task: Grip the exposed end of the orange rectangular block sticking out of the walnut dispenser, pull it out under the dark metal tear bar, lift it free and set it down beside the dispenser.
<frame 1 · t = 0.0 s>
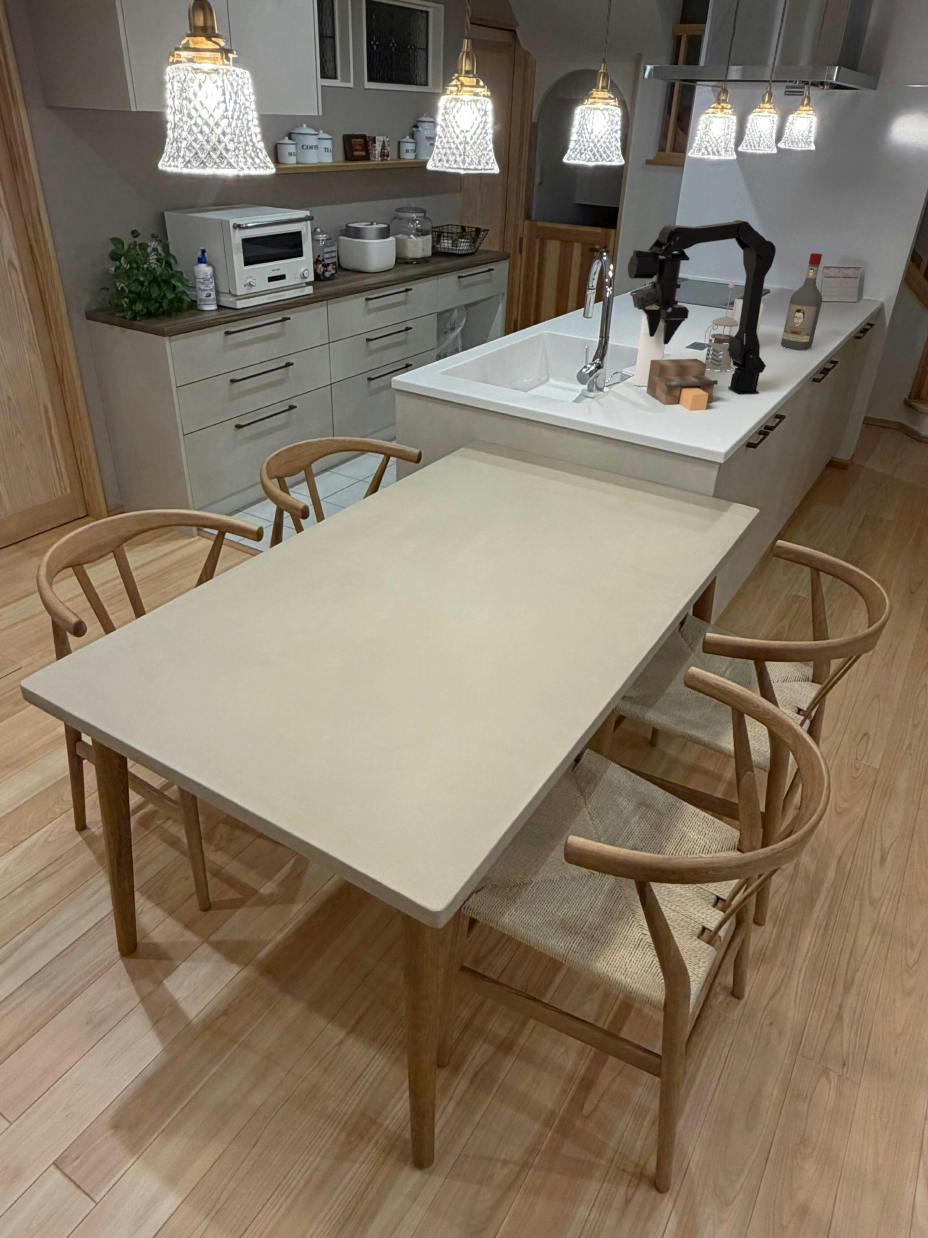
hand: (658, 340, 227), 15 cm above the table, fingers open, 9 cm apart
dispenser: (678, 397, 233), on the table
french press: (714, 367, 264), on the table
supplement box: (740, 347, 291), on the table
milk carton: (646, 384, 245), on the table
orange rectangular block: (689, 405, 227), on the table
liquor: (795, 347, 293), on the table
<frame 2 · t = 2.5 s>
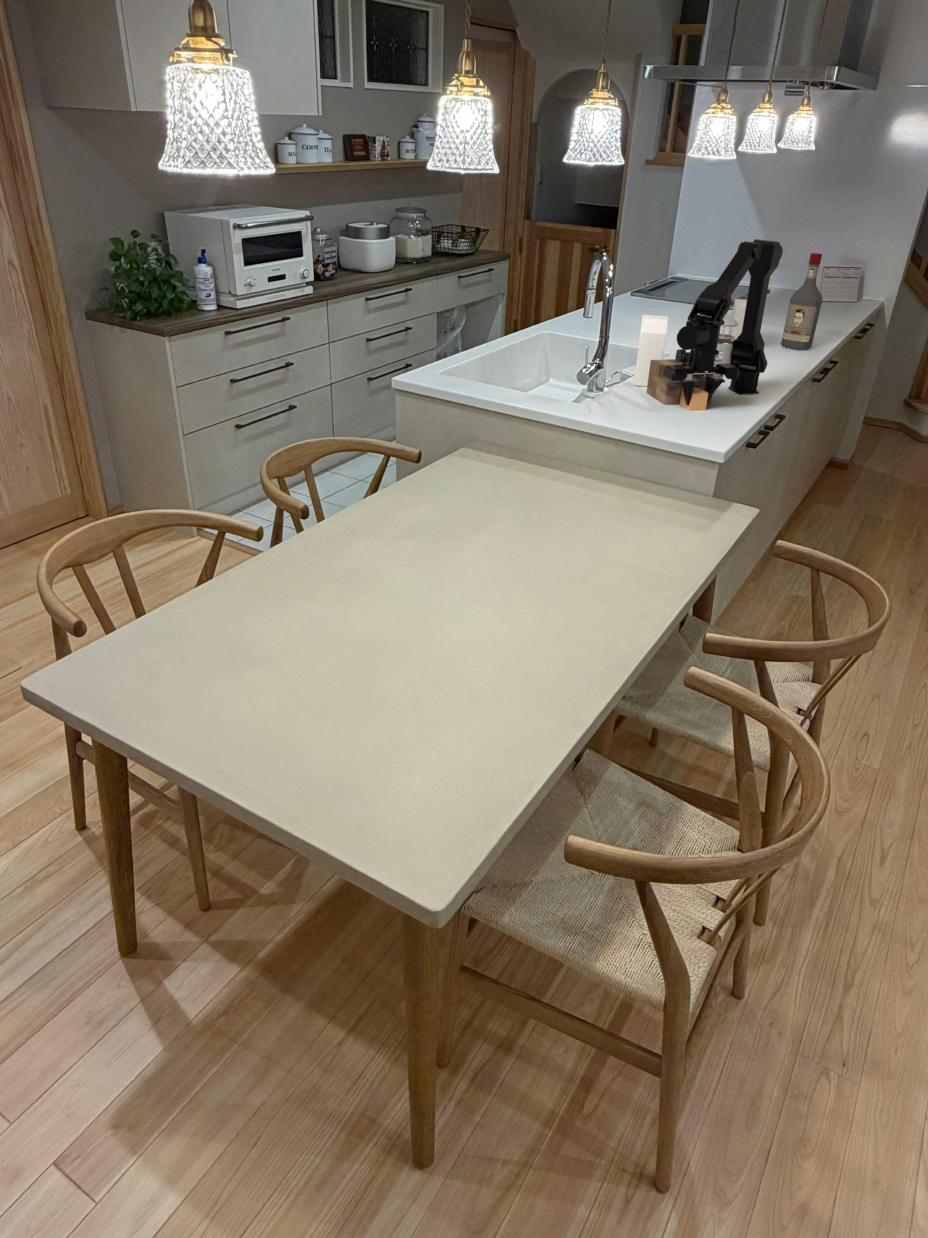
hand: (695, 404, 223), 1 cm above the table, fingers closed on orange rectangular block, 4 cm apart
orange rectangular block: (689, 404, 227), on the table, touching gripper
everything else where it was.
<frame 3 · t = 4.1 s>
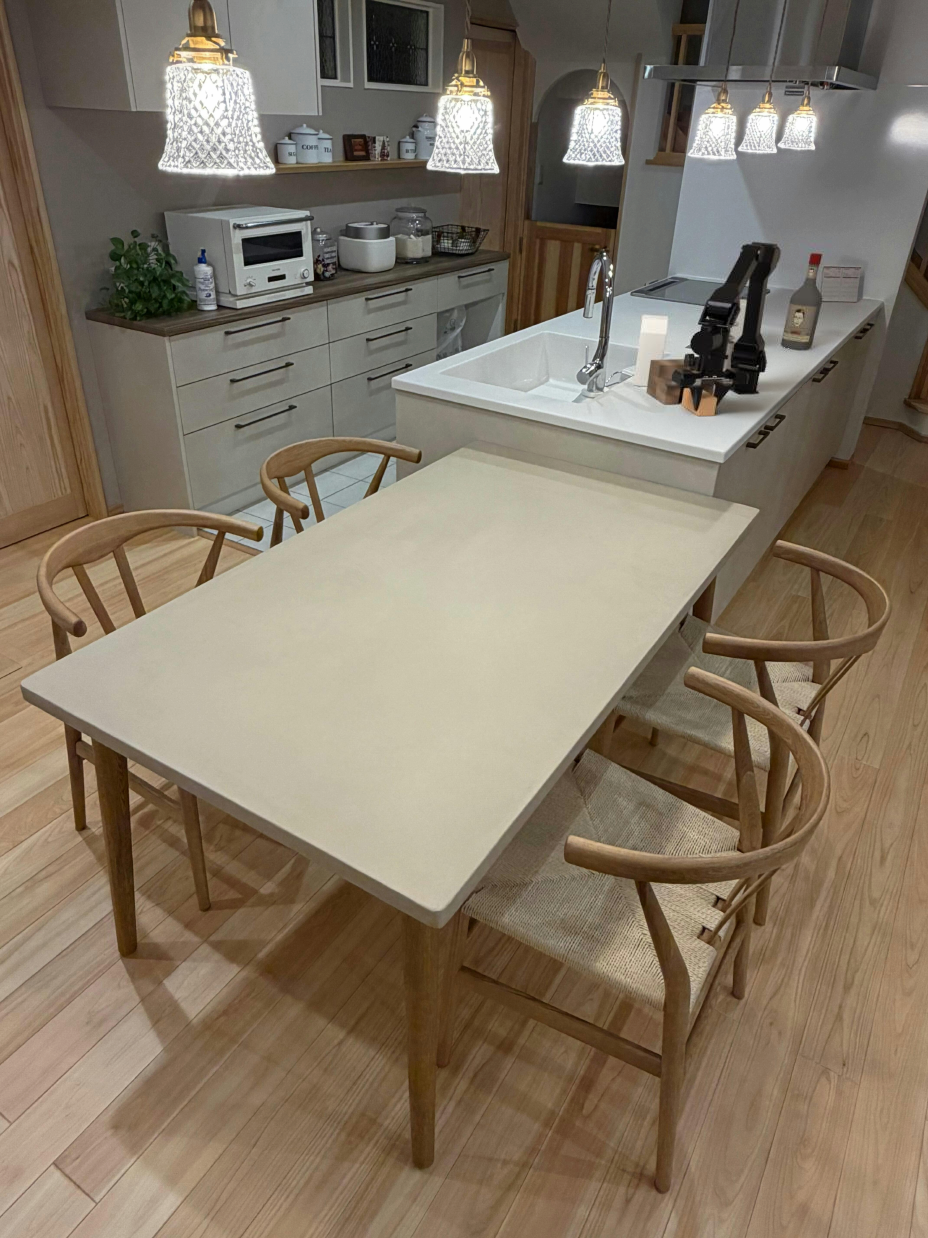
hand: (704, 410, 219), 1 cm above the table, fingers closed on orange rectangular block, 4 cm apart
orange rectangular block: (697, 410, 222), on the table, touching gripper
everything else where it was.
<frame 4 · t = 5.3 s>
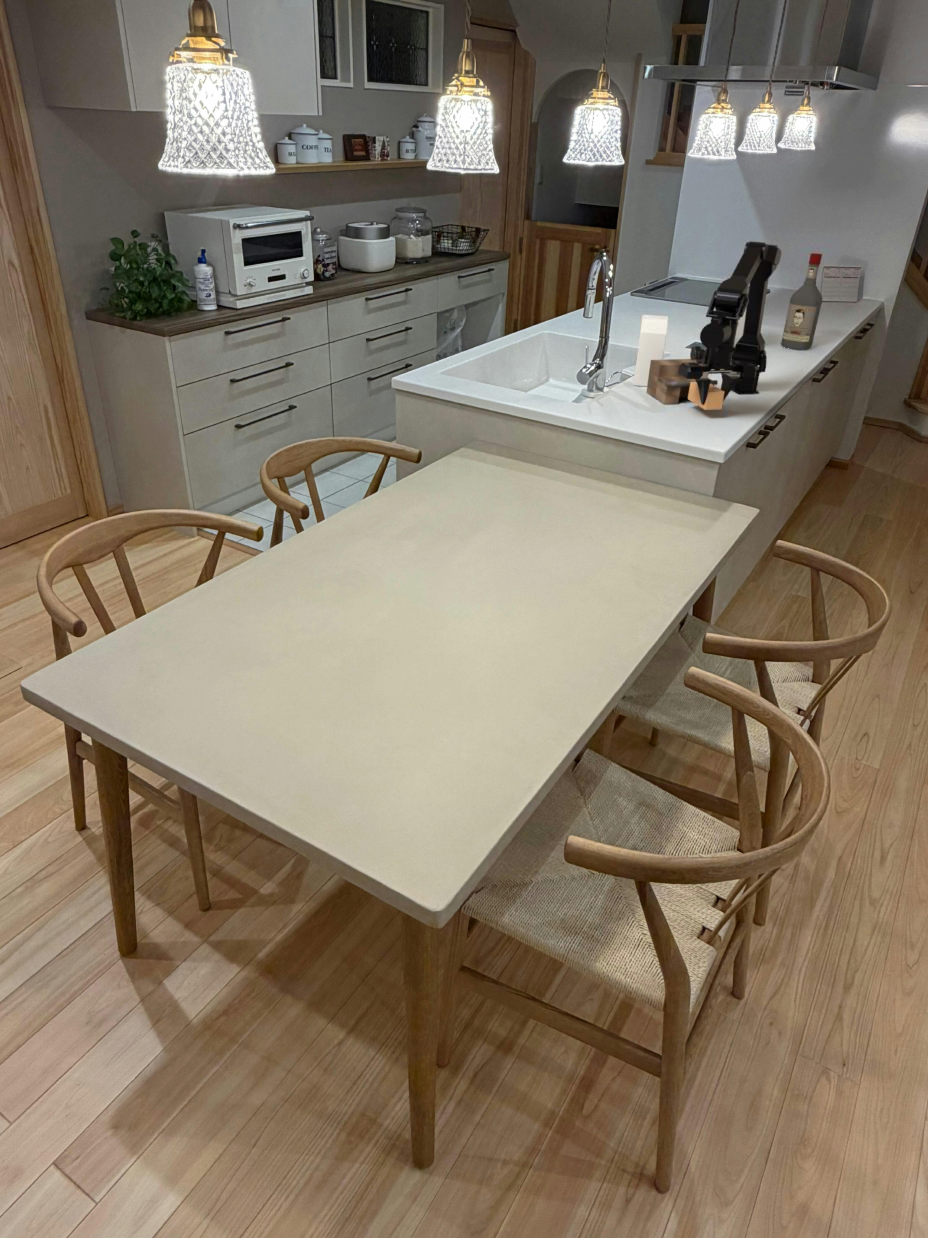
hand: (711, 403, 215), 4 cm above the table, fingers closed on orange rectangular block, 4 cm apart
orange rectangular block: (704, 403, 219), point 3 cm above the table, touching gripper
everything else where it was.
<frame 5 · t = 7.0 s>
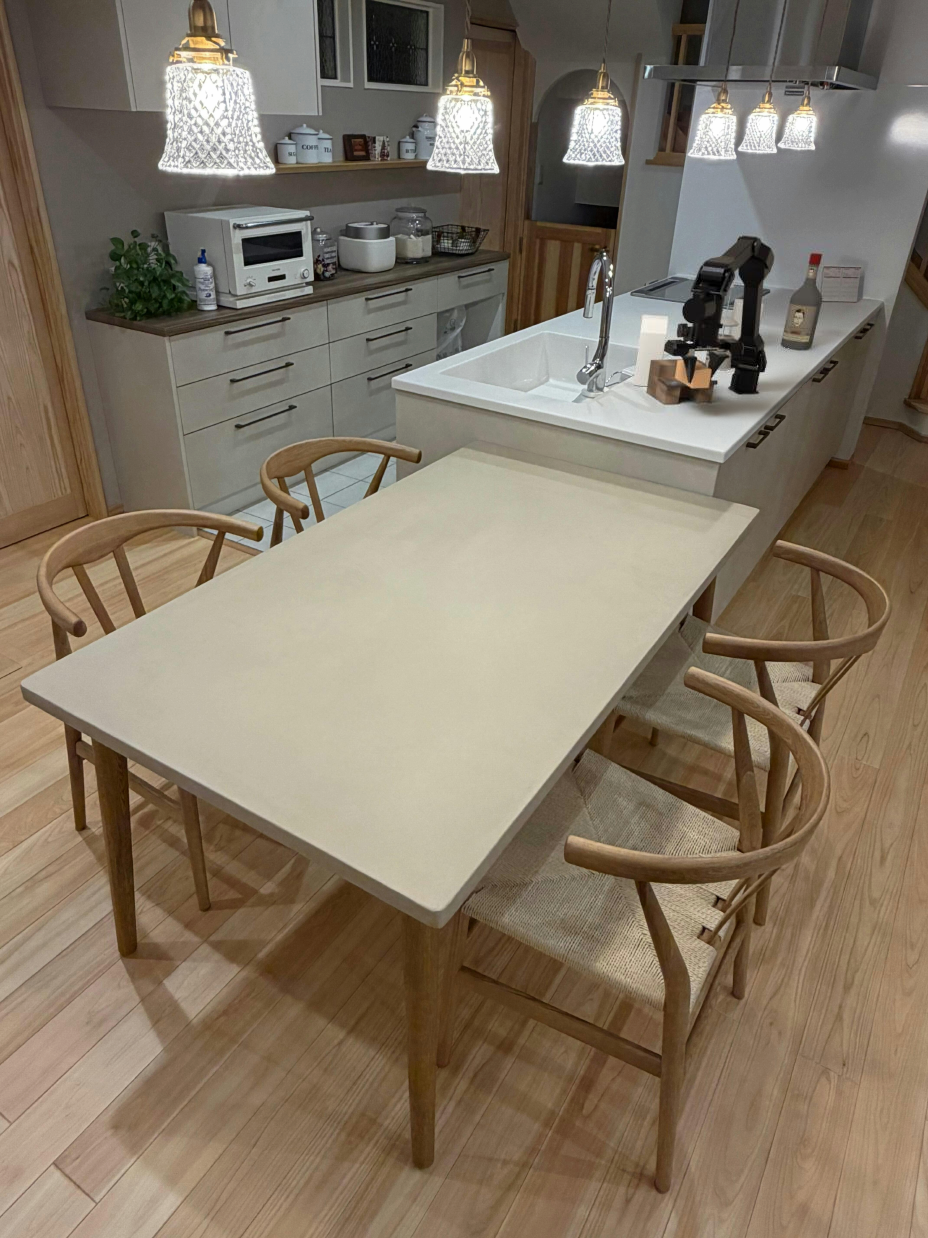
hand: (698, 382, 211), 9 cm above the table, fingers closed on orange rectangular block, 4 cm apart
orange rectangular block: (691, 382, 215), point 8 cm above the table, touching gripper
everything else where it was.
when the fingers open (2 cm above the table, at t = 8.5 s): orange rectangular block drops 2 cm, on the table.
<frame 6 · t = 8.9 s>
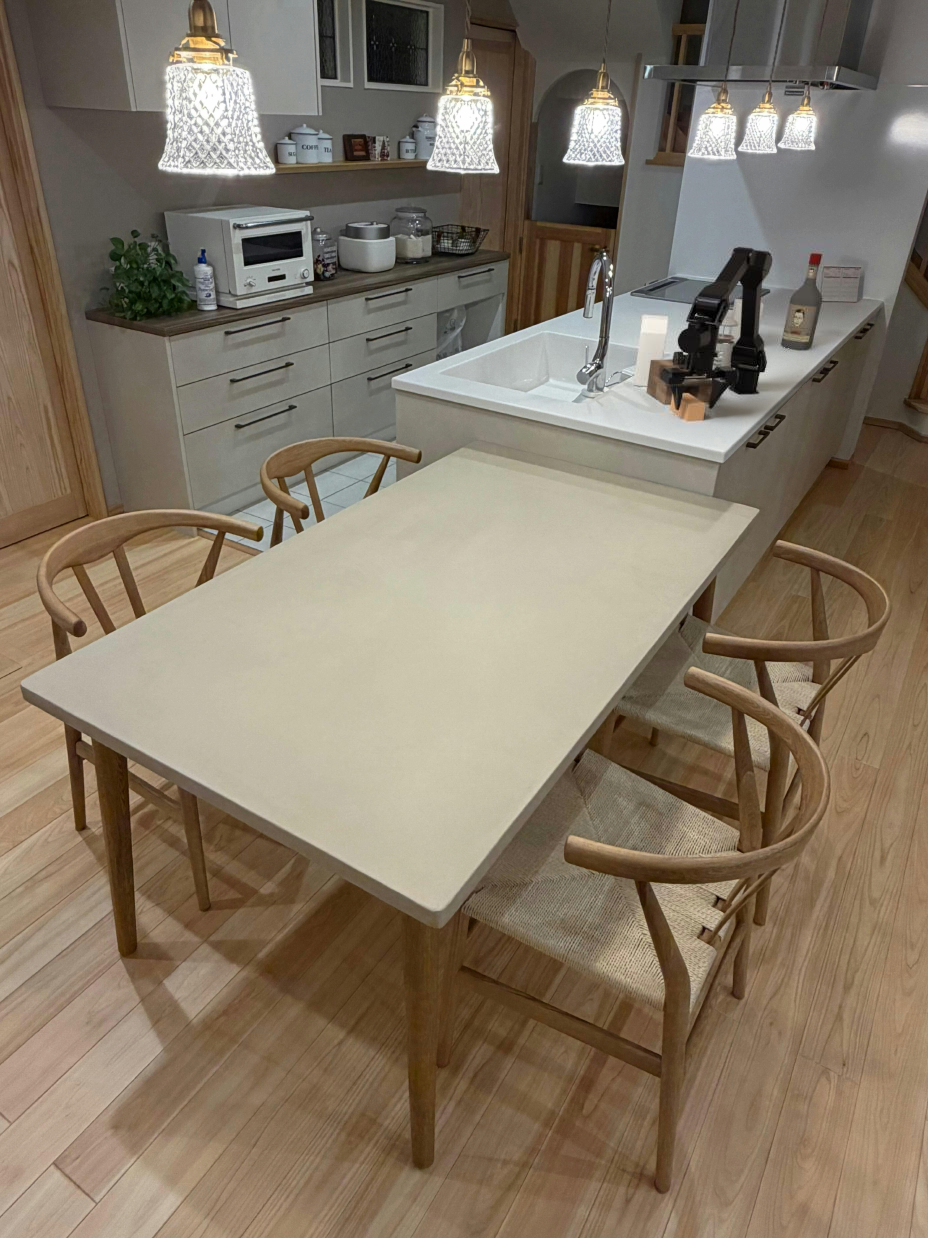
hand: (693, 409, 214), 2 cm above the table, fingers open, 9 cm apart
orange rectangular block: (686, 415, 219), on the table
everything else where it was.
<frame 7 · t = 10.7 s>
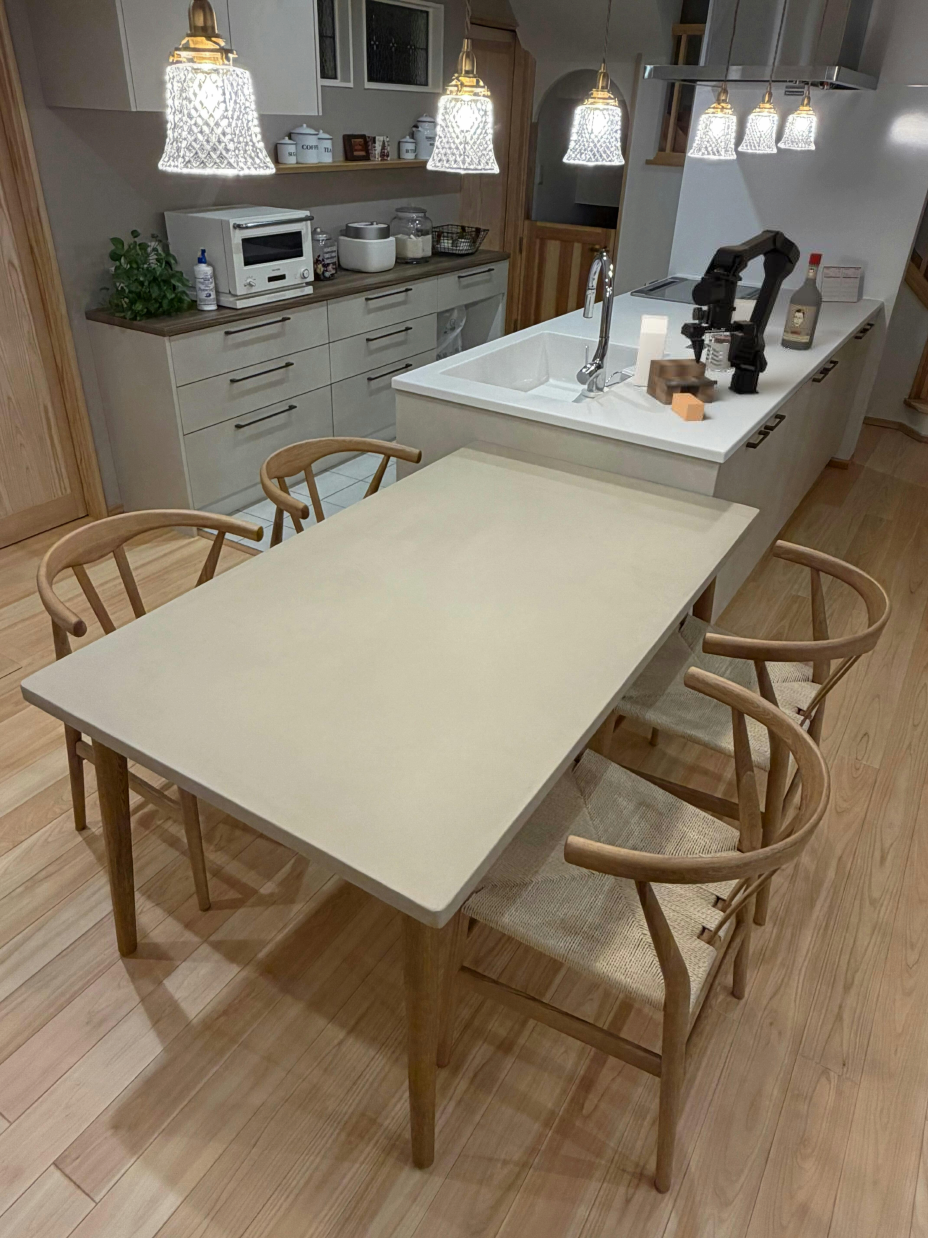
hand: (713, 362, 225), 11 cm above the table, fingers open, 9 cm apart
nothing on the table moved.
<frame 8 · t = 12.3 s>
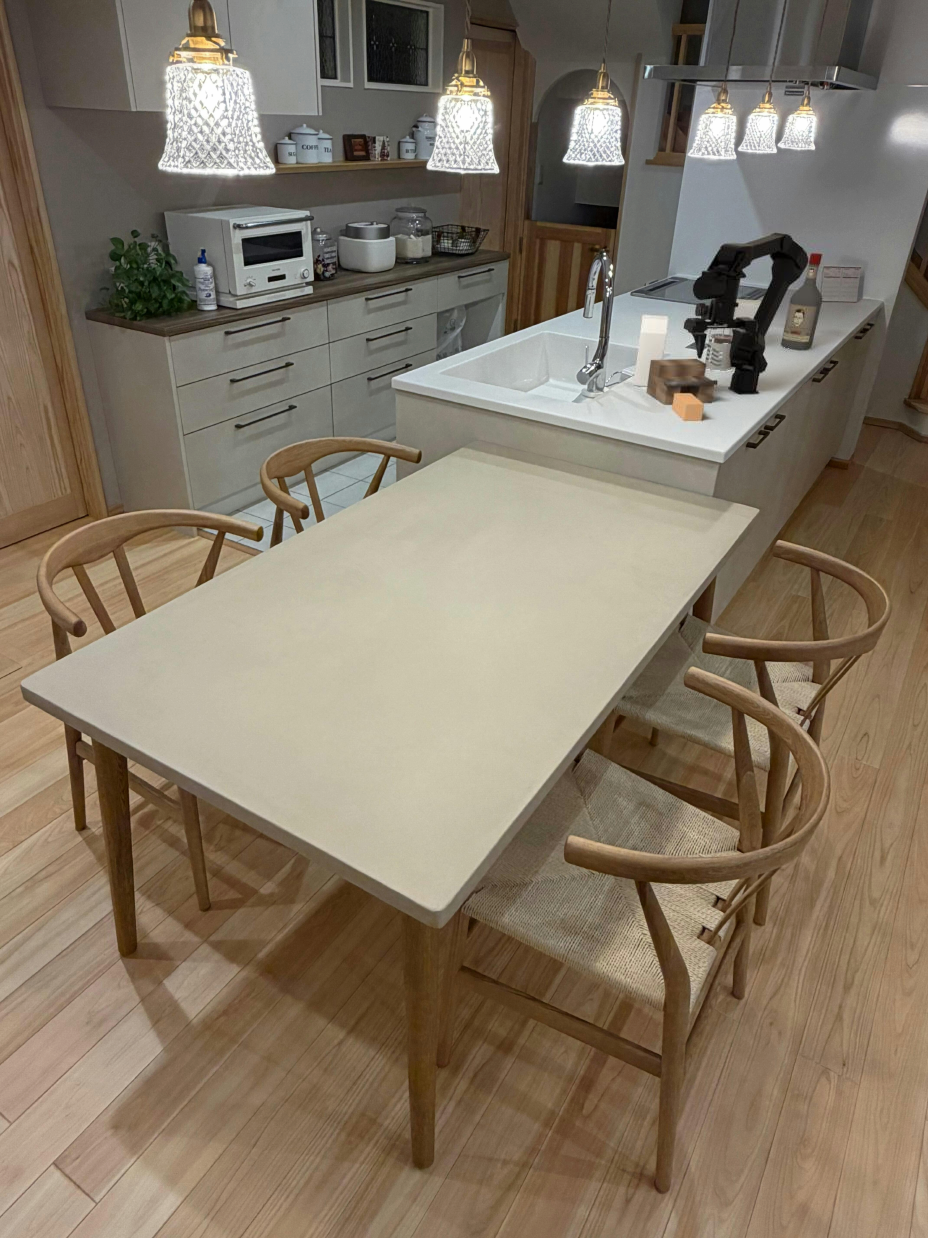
hand: (715, 357, 227), 11 cm above the table, fingers open, 9 cm apart
nothing on the table moved.
at the end: orange rectangular block inside the target area (1.3 cm from its centre), on the table; the gripper is holding nothing; orange rectangular block tilted 0° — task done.
